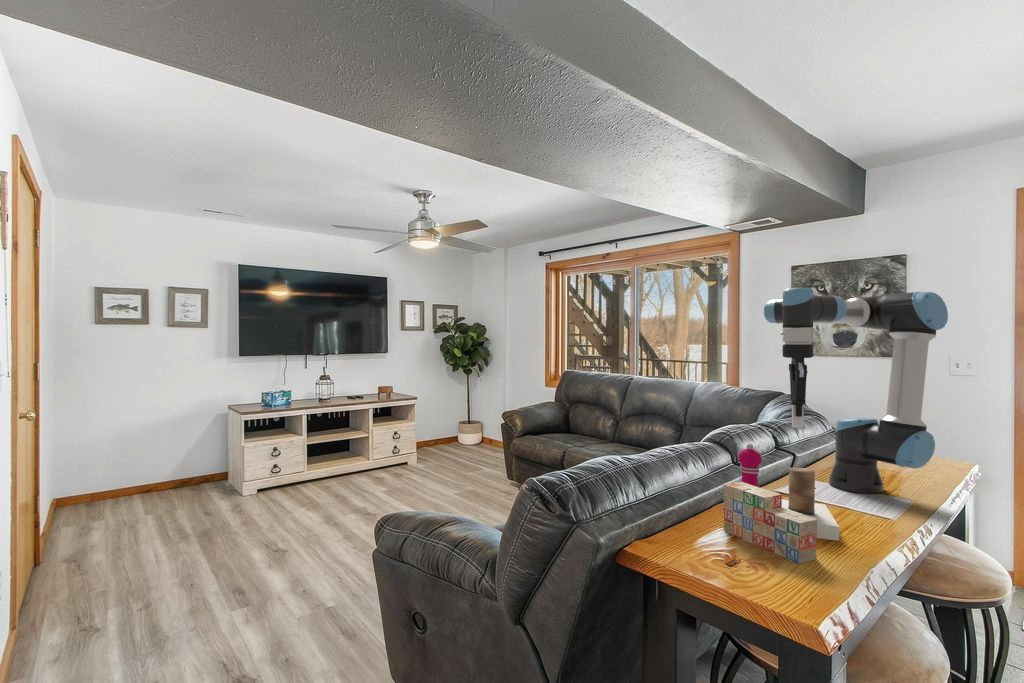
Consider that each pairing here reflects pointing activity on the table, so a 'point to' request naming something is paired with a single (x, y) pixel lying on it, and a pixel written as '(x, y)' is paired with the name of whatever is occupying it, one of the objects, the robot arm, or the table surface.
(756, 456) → the pepper mill
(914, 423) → the robot arm
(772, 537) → the stack of blocks
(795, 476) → the walnut peg
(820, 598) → the table surface
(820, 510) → the cream board
